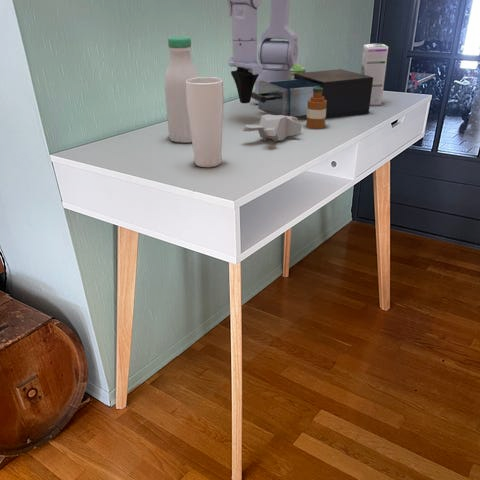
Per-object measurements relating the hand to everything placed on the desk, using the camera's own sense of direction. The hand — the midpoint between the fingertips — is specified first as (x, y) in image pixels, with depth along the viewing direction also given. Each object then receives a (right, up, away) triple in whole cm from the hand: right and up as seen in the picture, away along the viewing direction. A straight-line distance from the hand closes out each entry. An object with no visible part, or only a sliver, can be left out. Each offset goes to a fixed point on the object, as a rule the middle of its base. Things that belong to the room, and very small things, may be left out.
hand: (245, 102), depth 123 cm
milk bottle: (-13, -13, -10) cm, 21 cm away
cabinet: (+23, +3, +11) cm, 25 cm away
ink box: (+15, +17, +32) cm, 39 cm away
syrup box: (+35, +7, +17) cm, 40 cm away
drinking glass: (-8, -23, -25) cm, 35 cm away
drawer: (+11, 0, +6) cm, 12 cm away
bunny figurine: (+7, -13, -11) cm, 19 cm away
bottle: (+17, -7, -3) cm, 18 cm away
